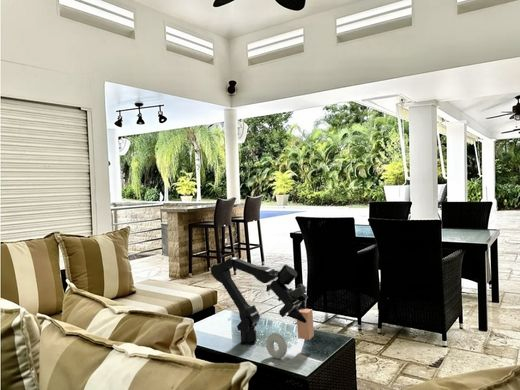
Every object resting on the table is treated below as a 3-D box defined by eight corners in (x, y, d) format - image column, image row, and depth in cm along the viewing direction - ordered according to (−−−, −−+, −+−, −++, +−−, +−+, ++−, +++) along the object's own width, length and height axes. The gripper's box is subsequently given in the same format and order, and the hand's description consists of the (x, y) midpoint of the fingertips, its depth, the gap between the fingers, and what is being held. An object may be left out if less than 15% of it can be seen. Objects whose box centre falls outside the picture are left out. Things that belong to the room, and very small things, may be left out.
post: (298, 338, 166) (296, 311, 166) (302, 334, 171) (301, 308, 171) (309, 339, 164) (307, 312, 164) (313, 335, 168) (312, 309, 168)
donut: (264, 357, 163) (263, 332, 163) (270, 354, 165) (268, 329, 165) (284, 362, 156) (282, 336, 156) (289, 359, 159) (288, 334, 159)
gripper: (284, 284, 161) (311, 314, 156) (302, 274, 177) (327, 301, 172) (268, 302, 165) (294, 332, 159) (287, 291, 181) (311, 318, 176)
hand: (308, 320), depth 167 cm, fingers closed on post, 5 cm apart
